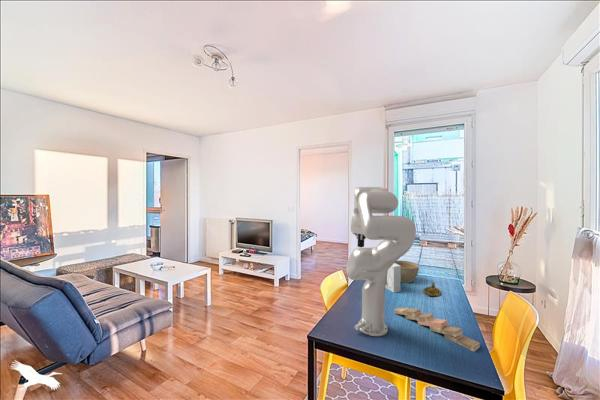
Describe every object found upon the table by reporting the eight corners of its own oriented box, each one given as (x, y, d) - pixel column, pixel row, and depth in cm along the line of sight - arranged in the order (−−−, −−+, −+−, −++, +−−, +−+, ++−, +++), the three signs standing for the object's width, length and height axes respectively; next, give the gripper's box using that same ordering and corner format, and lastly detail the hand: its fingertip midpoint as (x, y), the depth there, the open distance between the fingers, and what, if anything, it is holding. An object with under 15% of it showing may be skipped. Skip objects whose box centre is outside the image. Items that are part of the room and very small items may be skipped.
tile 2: (424, 321, 120) (448, 324, 111) (418, 324, 117) (441, 328, 108) (423, 317, 120) (446, 320, 111) (417, 320, 117) (440, 323, 108)
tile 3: (437, 327, 114) (462, 333, 105) (430, 330, 112) (456, 336, 103) (436, 323, 115) (461, 328, 105) (429, 326, 112) (454, 332, 103)
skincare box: (372, 280, 171) (373, 256, 170) (379, 279, 172) (380, 255, 171) (393, 293, 151) (393, 266, 150) (400, 291, 152) (401, 265, 151)
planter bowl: (405, 286, 160) (406, 269, 159) (387, 277, 174) (387, 262, 174) (424, 282, 166) (425, 266, 166) (404, 274, 181) (405, 259, 180)
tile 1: (412, 315, 125) (434, 318, 116) (406, 318, 122) (428, 321, 113) (411, 311, 125) (433, 314, 116) (405, 314, 122) (427, 317, 113)
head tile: (400, 310, 129) (421, 313, 121) (394, 313, 127) (415, 316, 118) (400, 307, 130) (420, 308, 121) (393, 309, 127) (414, 311, 118)
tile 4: (450, 333, 110) (479, 347, 101) (444, 337, 107) (473, 351, 98) (450, 329, 110) (480, 342, 101) (444, 333, 107) (474, 347, 98)
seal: (440, 301, 143) (441, 291, 156) (442, 293, 142) (442, 284, 155) (422, 295, 148) (424, 286, 161) (423, 288, 147) (425, 279, 160)
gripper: (345, 210, 136) (345, 244, 137) (368, 213, 124) (367, 251, 125) (355, 209, 140) (354, 243, 141) (378, 212, 128) (377, 248, 129)
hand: (360, 246), depth 133 cm, fingers closed
